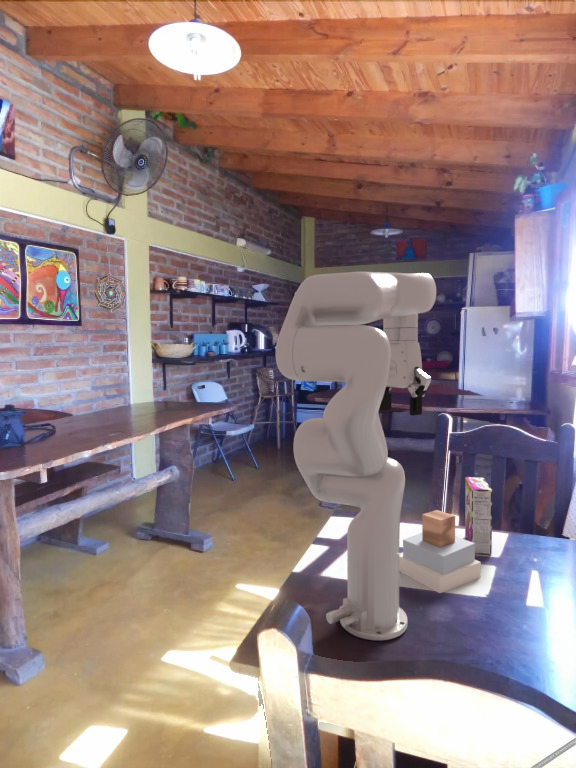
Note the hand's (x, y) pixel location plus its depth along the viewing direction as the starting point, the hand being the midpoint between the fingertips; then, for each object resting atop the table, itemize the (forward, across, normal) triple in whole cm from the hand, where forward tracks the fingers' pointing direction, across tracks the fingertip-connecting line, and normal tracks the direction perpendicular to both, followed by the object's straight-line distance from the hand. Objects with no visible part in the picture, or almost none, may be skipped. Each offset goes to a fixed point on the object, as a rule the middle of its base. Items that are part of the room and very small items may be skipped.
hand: (400, 412), depth 111 cm
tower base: (+37, +7, +5) cm, 38 cm away
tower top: (+33, +7, +5) cm, 34 cm away
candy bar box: (+36, +2, +25) cm, 44 cm away
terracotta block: (+29, +7, +5) cm, 30 cm away
